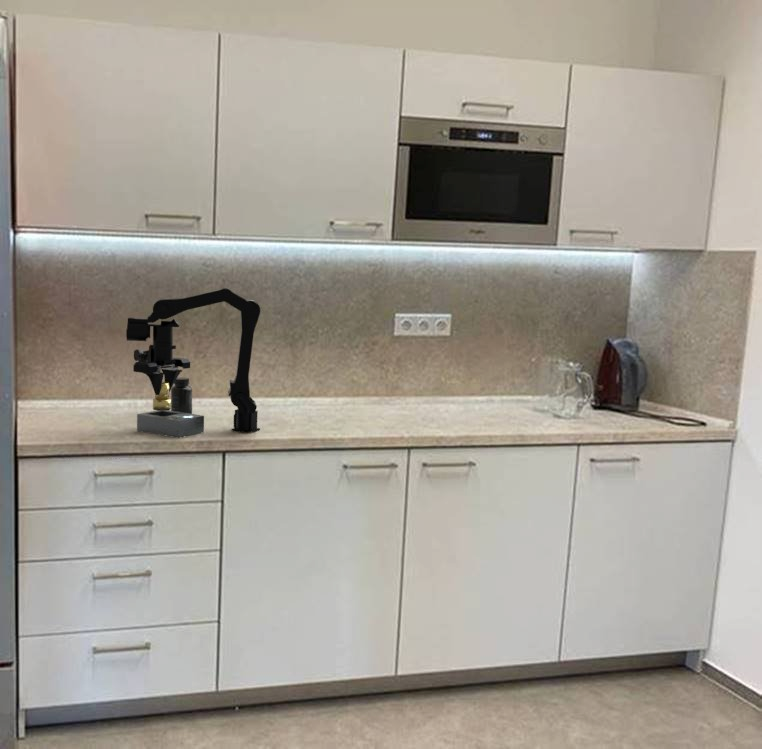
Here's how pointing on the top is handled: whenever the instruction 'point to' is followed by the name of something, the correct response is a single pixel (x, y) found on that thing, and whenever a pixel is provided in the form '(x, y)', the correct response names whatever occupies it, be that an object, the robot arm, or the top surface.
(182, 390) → the supplement bottle
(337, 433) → the top surface
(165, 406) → the brass cap
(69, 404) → the top surface
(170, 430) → the housing
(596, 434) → the top surface
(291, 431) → the top surface
